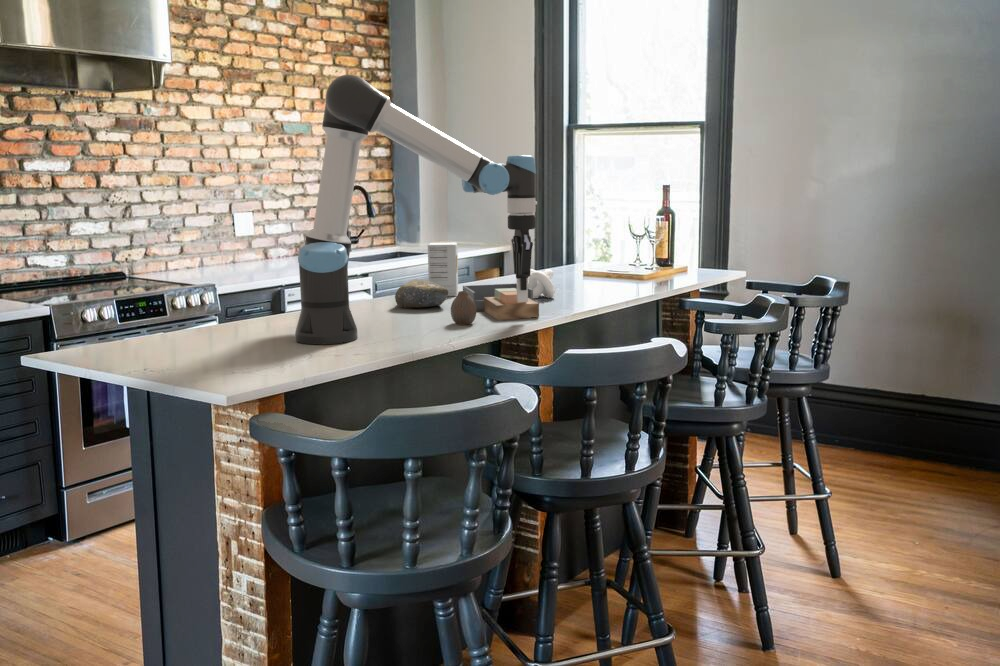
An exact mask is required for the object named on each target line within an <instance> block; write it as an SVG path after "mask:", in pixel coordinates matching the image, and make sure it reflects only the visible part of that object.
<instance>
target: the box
mask: <svg viewBox="0 0 1000 666" xmlns="http://www.w3.org/2000/svg"><path fill="white" fill-rule="evenodd" d="M502 288H516V289H517V282H516V283H515V282H514V283H499V284H497V283H496V284H476V285H473V284H472V285H462V291H467V292H468V294H469V296H470V297H471V298H472V299H473V301H474V302H475V305H476V312H483V311H484V297H495V289H502ZM528 298H529V299H531V300H533V301H534V299H533V290H532V289H530V288H528ZM484 312H485V311H484Z"/></svg>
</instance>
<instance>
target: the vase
mask: <svg viewBox="0 0 1000 666" xmlns="http://www.w3.org/2000/svg"><path fill="white" fill-rule="evenodd" d="M450 316H451V319H452V321H453V322H454V323H455V324H456V325H458V326H467V325H471V324H472V323H473V322H475V319H476V317H477V311H476V305H475V302H474V301H473V299H472V298H471V297H470V296H469V294H468V292H467V291H463V290H460V291H459V290H458V294H457V296H455V298H454V299H453V301H452V303H451V306H450Z"/></svg>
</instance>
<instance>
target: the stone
mask: <svg viewBox="0 0 1000 666" xmlns="http://www.w3.org/2000/svg"><path fill="white" fill-rule="evenodd" d="M447 295H448V290H447V289H446V288H444V287H442V286H440V285H438V284H435V283H433V282H430V281H429V280H426V279H419V278H417V279H412V280H410V281H408V282H407V283H405V284H403V285H401V286H400V287H399V288H397V291H396V292H395V295H394V299H395V303H396V304H397V305H396V306H398V307H399V308H401V309H403V308H405V309H408V308H413V309H414V308H429V307H439V306H441V305H443V304H444V302H445V301H446V300H447V298H448V296H447Z"/></svg>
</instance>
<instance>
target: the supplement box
mask: <svg viewBox="0 0 1000 666" xmlns="http://www.w3.org/2000/svg"><path fill="white" fill-rule="evenodd" d="M458 252H459V251H458V242H455V241H454V242H450V241H449V242H430V243H429V244H427V265H428V267H427V268H428V271H427V272H428V281H430V282H433V283H435V284H438V285H440V286H442V287H444V288H446V289H447V290H448V295H447V297H456V296H457V295H458V292H459V265H458V263H459V262H458V261H459V260H458V257H459V255H458Z"/></svg>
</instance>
